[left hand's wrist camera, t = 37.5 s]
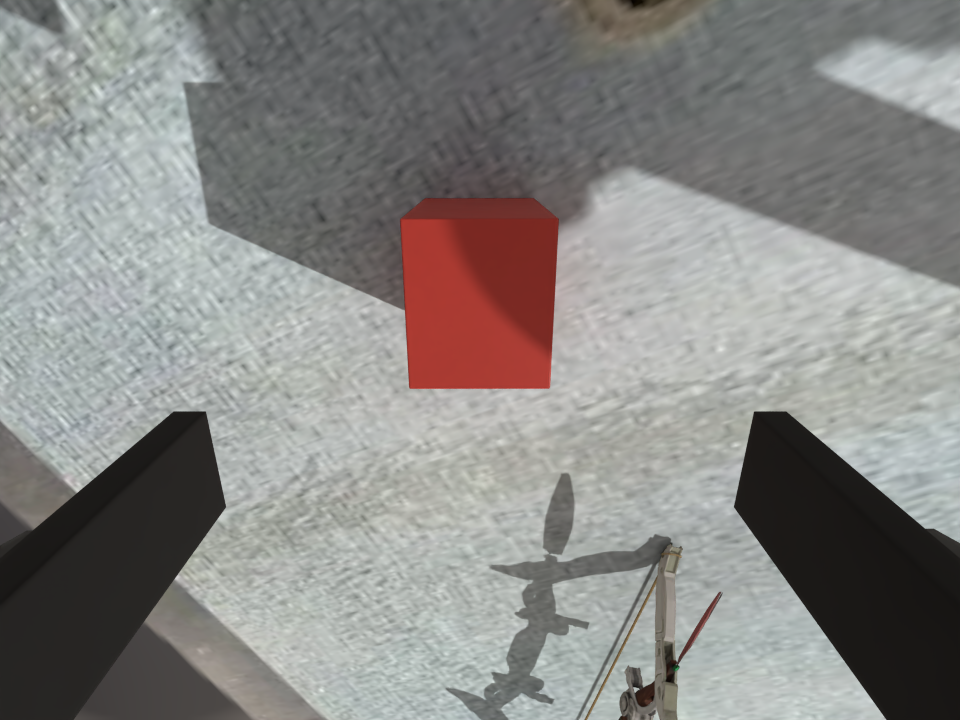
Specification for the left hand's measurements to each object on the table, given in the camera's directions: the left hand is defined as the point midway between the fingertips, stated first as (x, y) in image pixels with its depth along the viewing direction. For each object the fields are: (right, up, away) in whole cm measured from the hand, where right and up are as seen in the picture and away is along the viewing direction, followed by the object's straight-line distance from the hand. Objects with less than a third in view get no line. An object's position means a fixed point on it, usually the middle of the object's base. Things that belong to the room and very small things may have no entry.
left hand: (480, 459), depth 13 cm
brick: (0, +9, +23) cm, 25 cm away
